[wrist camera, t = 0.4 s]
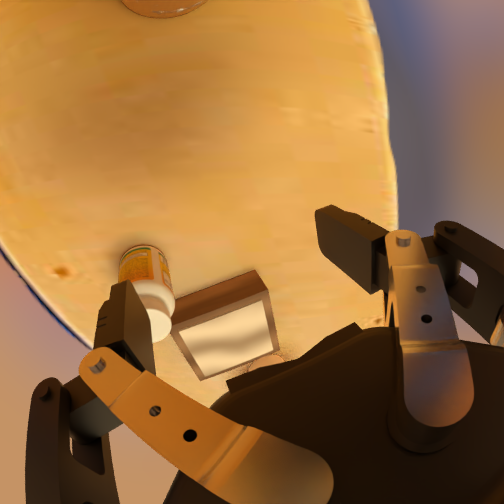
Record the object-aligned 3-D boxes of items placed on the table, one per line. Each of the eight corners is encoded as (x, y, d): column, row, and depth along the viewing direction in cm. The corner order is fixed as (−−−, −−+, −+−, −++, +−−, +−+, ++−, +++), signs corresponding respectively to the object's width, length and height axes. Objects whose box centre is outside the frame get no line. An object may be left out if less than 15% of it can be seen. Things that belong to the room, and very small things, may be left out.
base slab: (162, 304, 33) (167, 329, 30) (255, 269, 36) (268, 290, 32) (193, 359, 40) (200, 382, 37) (268, 330, 42) (280, 351, 39)
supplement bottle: (175, 255, 31) (192, 314, 23) (153, 291, 32) (163, 355, 24) (131, 235, 28) (132, 293, 20) (111, 275, 29) (108, 339, 21)
